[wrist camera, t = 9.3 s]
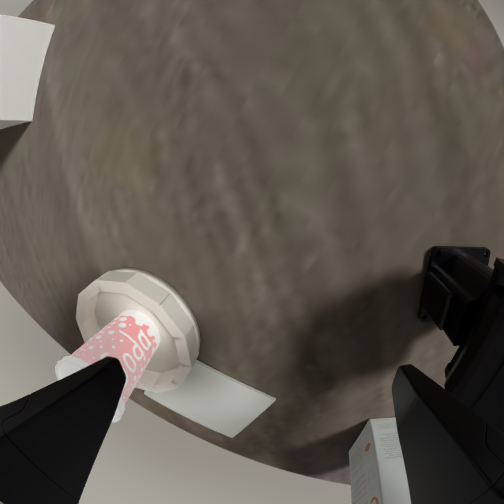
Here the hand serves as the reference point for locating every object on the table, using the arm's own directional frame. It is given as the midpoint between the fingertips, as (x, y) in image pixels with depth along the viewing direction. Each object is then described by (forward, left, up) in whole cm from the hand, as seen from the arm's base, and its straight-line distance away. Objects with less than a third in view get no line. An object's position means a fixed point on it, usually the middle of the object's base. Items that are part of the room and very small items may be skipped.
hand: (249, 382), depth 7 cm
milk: (+30, -21, -13) cm, 39 cm away
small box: (-13, +24, -13) cm, 30 cm away
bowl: (+13, +8, -13) cm, 20 cm away
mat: (+8, +17, -13) cm, 23 cm away
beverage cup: (+13, +8, -12) cm, 19 cm away
